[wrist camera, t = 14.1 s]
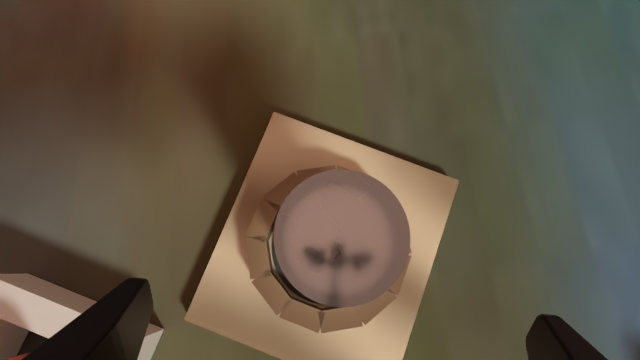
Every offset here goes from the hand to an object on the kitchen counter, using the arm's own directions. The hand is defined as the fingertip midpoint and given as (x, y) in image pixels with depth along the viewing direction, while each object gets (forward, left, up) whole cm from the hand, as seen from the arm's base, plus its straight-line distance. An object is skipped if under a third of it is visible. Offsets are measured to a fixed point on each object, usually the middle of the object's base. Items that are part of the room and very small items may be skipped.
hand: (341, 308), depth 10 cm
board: (+2, +1, -13) cm, 13 cm away
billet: (+2, +1, -12) cm, 12 cm away
